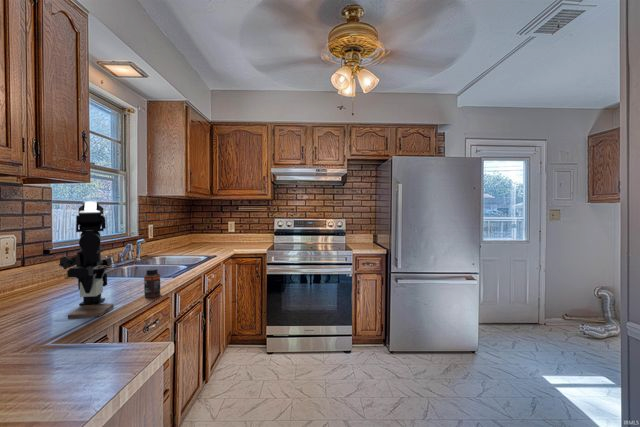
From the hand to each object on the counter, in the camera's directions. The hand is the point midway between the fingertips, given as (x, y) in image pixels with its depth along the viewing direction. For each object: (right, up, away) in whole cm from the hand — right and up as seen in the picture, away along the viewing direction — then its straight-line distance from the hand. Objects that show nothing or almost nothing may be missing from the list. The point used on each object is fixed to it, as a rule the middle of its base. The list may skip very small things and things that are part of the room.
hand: (91, 291), depth 113 cm
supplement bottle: (+11, -7, +20) cm, 24 cm away
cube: (0, -1, 0) cm, 1 cm away
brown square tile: (0, -8, 0) cm, 8 cm away
